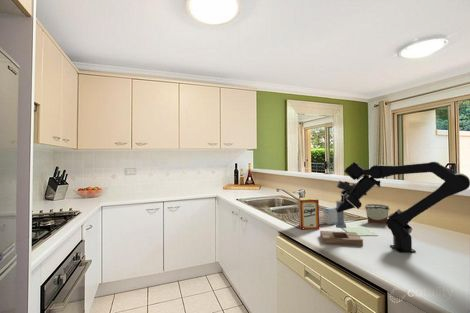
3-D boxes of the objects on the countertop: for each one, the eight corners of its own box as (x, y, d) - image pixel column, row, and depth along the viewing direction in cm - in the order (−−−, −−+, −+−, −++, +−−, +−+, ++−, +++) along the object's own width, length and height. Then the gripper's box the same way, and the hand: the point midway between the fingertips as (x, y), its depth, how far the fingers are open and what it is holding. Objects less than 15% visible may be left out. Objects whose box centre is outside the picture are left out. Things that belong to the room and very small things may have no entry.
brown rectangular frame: (362, 246, 99) (362, 240, 99) (323, 243, 102) (323, 238, 102) (356, 237, 109) (356, 232, 109) (320, 236, 112) (320, 230, 112)
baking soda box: (301, 229, 123) (300, 199, 123) (298, 225, 130) (298, 197, 130) (319, 229, 122) (318, 199, 122) (316, 225, 129) (315, 197, 129)
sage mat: (377, 235, 110) (377, 235, 110) (352, 236, 111) (352, 235, 111) (363, 226, 124) (363, 226, 124) (340, 227, 125) (340, 226, 125)
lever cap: (346, 228, 104) (345, 202, 104) (336, 227, 105) (335, 202, 105) (344, 224, 108) (343, 200, 108) (335, 224, 109) (334, 200, 110)
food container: (386, 221, 133) (385, 204, 133) (390, 224, 127) (389, 206, 127) (362, 220, 136) (362, 203, 136) (365, 223, 130) (364, 205, 130)
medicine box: (333, 221, 137) (333, 206, 137) (339, 223, 132) (339, 208, 132) (323, 222, 134) (322, 207, 134) (328, 224, 130) (328, 209, 130)
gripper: (344, 173, 114) (321, 195, 118) (351, 176, 97) (324, 202, 100) (362, 189, 112) (339, 210, 115) (373, 195, 94) (345, 221, 97)
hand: (336, 210), depth 107 cm, fingers closed on lever cap, 3 cm apart
